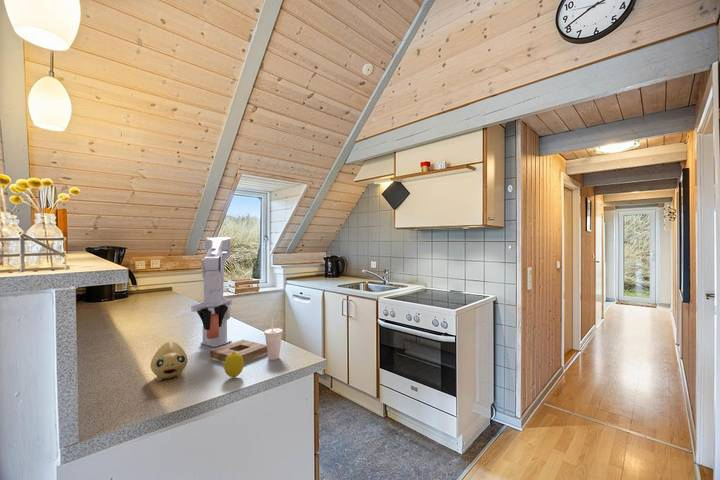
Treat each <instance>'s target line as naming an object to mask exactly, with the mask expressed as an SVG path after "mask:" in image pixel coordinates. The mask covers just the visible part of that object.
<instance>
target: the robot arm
mask: <svg viewBox="0 0 720 480" xmlns="http://www.w3.org/2000/svg"><path fill="white" fill-rule="evenodd" d="M231 240H232V239H231V238H230V237H229V236H227V237H208V236H207V237H206V238H205V240H204V250H205V256H204V257H203V258H202V259H201V265H200V266H201V272H202V279H203V302H201V303H198V304H192V305H190V306H191V308H190V309H191V312H194V313H197V315H198V316H199V318H200V320H201V323H202V324H203V325H202V341H201V342H200V344H201V345H206V346H209V347H212V348H218V347H221V346H224V345H227V344H230V343H233V340H230V339H228V320H229V319H231V306H232V304H233V299H231V298H226V297H225V296H224V285H225V284H224V282H225V281H224V280H225V277H224V276H225V264H226V261H227V260H228V259H230V257H231V255H232V254H231V253H232V252H231V250H232V241H231ZM214 313H216V314H219V337H218V338H214V339H207V330H209V329H210V316H211V314H214Z"/></svg>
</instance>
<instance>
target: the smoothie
mask: <svg viewBox="0 0 720 480" xmlns="http://www.w3.org/2000/svg"><path fill="white" fill-rule="evenodd" d="M283 333H284V331H283V329H282V328H274V318H271V328H270V329H269V328H268V329H266V330H264V333H263V335H264V336H265V342H266V344H265V345H267V352H268V354H267V359H268V360H270V361H276V360H279V358H280V353H281V344H282V338H283V337H282V334H283Z"/></svg>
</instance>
